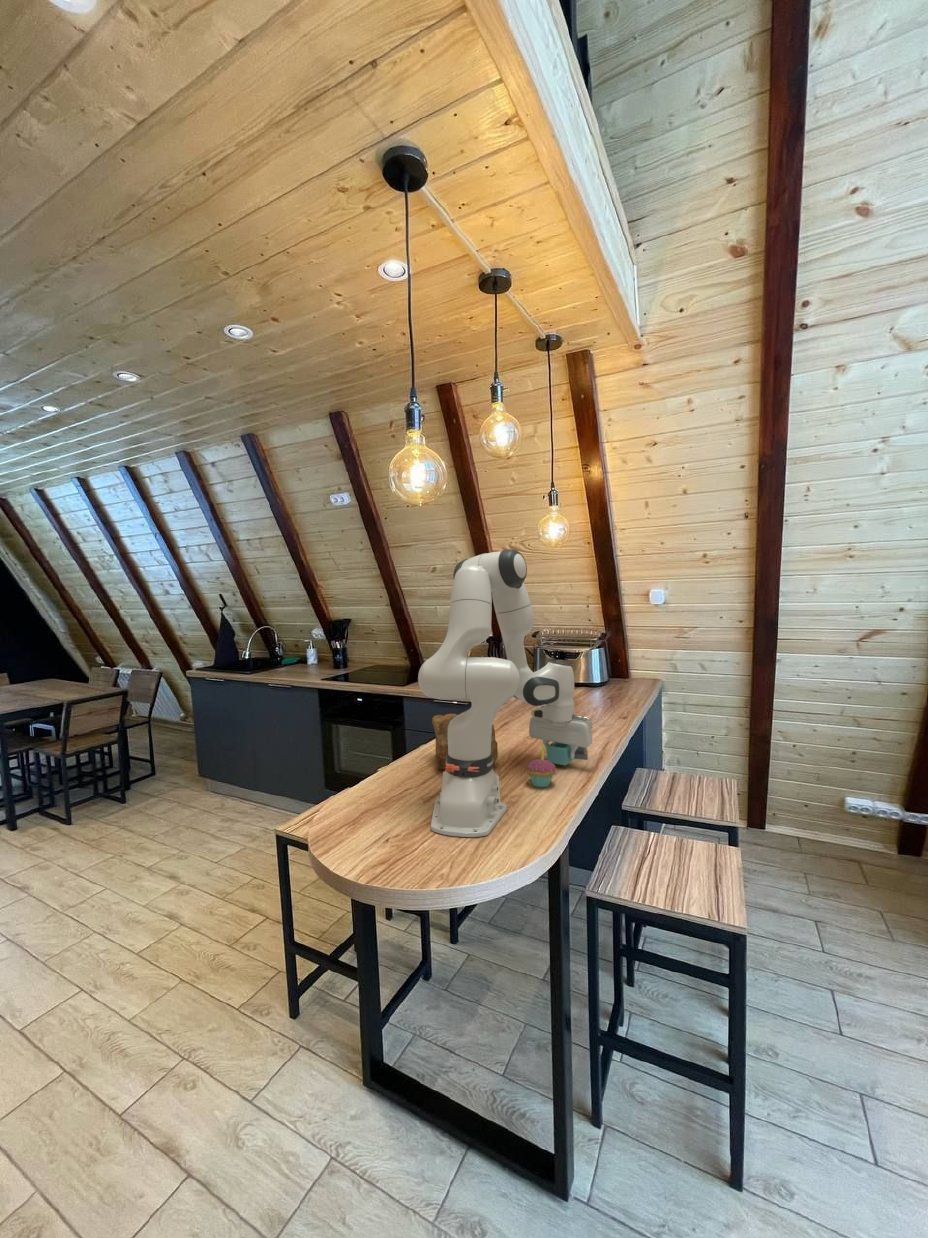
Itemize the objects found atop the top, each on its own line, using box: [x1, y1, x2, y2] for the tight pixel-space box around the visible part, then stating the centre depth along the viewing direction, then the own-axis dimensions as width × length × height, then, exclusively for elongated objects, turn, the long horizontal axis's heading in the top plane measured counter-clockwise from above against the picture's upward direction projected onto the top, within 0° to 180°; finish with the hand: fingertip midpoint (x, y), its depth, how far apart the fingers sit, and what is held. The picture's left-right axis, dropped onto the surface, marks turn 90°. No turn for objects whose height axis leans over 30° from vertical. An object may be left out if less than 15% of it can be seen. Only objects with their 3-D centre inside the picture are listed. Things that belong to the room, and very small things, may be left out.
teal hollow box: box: [546, 742, 574, 766], centre depth 155 cm, size 6×6×5 cm
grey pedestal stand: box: [573, 746, 588, 760], centre depth 167 cm, size 13×7×12 cm, turn 168°
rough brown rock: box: [431, 713, 499, 770], centre depth 155 cm, size 23×17×15 cm
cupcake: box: [525, 740, 557, 788], centre depth 140 cm, size 9×8×12 cm
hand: (560, 755), depth 155 cm, fingers closed on teal hollow box, 6 cm apart
